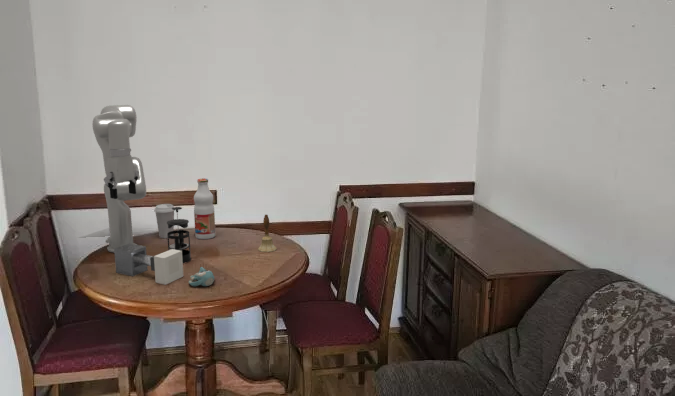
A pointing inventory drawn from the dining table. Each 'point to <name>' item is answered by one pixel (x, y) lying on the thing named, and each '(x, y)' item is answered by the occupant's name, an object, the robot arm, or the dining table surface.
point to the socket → (168, 266)
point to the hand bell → (267, 238)
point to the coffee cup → (164, 219)
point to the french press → (179, 237)
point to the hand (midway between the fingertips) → (123, 195)
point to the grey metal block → (129, 259)
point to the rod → (144, 260)
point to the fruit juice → (204, 211)
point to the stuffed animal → (202, 278)
